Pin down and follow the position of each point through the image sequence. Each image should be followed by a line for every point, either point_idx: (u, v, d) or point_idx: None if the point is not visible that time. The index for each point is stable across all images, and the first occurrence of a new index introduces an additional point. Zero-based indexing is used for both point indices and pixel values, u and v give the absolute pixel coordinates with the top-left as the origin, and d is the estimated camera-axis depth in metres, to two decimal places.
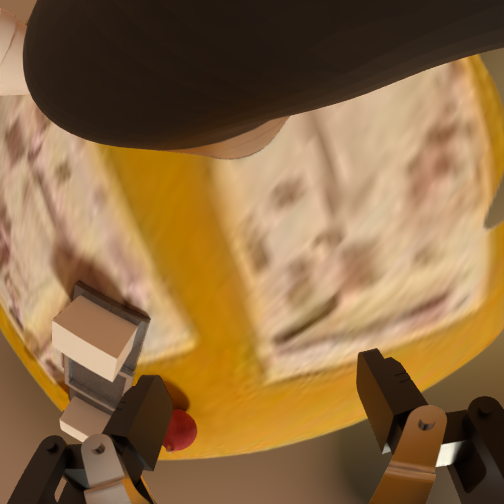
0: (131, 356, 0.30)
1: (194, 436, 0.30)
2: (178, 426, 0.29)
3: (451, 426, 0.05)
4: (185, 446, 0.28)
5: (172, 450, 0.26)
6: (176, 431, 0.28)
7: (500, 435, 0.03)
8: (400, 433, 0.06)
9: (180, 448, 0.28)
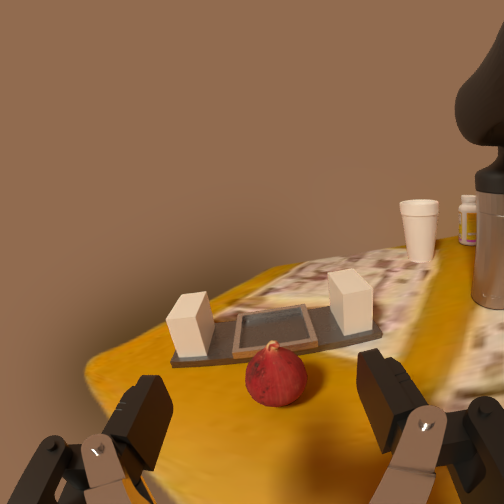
0: (336, 338, 0.33)
1: (290, 386, 0.22)
2: (303, 364, 0.24)
3: (451, 426, 0.05)
4: (278, 368, 0.22)
5: (278, 344, 0.23)
6: (298, 359, 0.24)
7: (500, 435, 0.03)
8: (400, 433, 0.06)
9: (274, 360, 0.22)
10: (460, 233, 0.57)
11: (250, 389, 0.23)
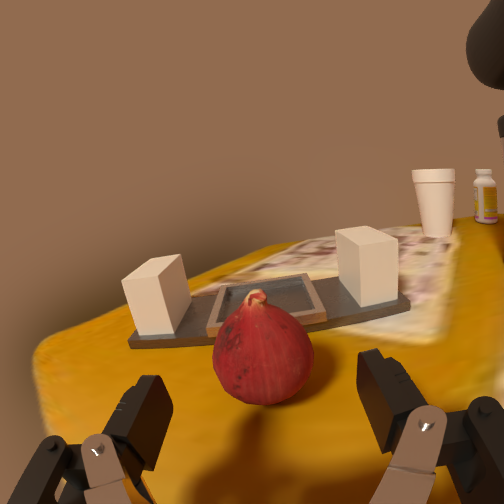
0: (350, 310, 0.24)
1: (285, 367, 0.13)
2: (306, 333, 0.15)
3: (451, 426, 0.05)
4: (264, 335, 0.13)
5: (264, 295, 0.14)
6: (299, 324, 0.15)
7: (500, 435, 0.03)
8: (400, 433, 0.06)
9: (258, 322, 0.14)
10: (476, 210, 0.48)
11: (218, 373, 0.14)
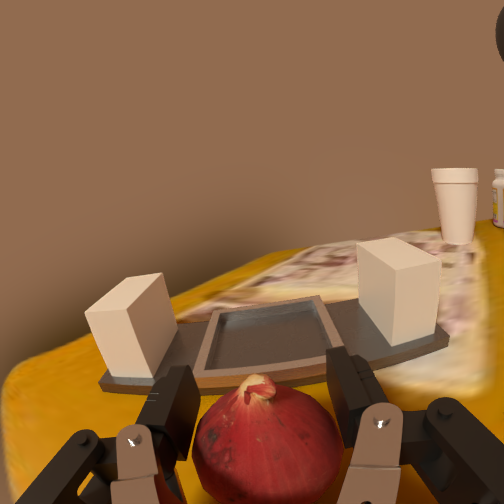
0: (378, 351, 0.17)
1: (303, 490, 0.06)
2: (335, 425, 0.08)
3: (410, 425, 0.06)
4: (271, 453, 0.06)
5: (272, 386, 0.07)
6: (326, 416, 0.08)
7: (466, 434, 0.04)
8: (357, 428, 0.06)
9: (261, 432, 0.07)
10: (495, 213, 0.41)
11: (201, 483, 0.07)
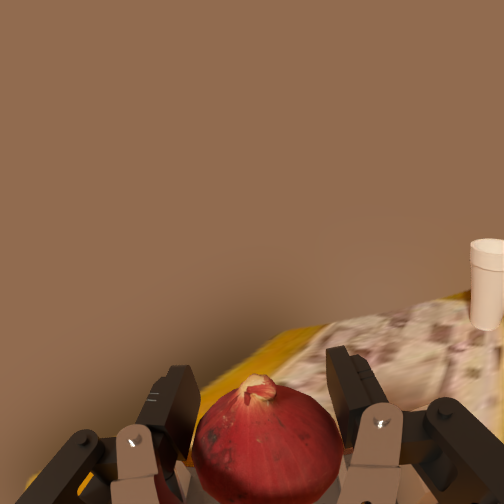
0: None
1: (303, 491, 0.06)
2: (335, 426, 0.08)
3: (410, 425, 0.06)
4: (271, 454, 0.06)
5: (273, 387, 0.07)
6: (326, 416, 0.08)
7: (466, 434, 0.04)
8: (357, 428, 0.06)
9: (261, 433, 0.07)
10: None
11: (201, 483, 0.07)
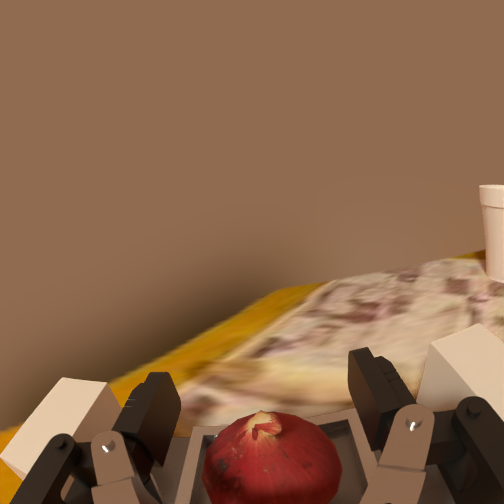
0: None
1: None
2: (335, 450, 0.08)
3: (439, 425, 0.05)
4: (277, 482, 0.06)
5: (279, 424, 0.07)
6: (327, 443, 0.08)
7: (491, 434, 0.03)
8: (388, 431, 0.06)
9: (268, 464, 0.07)
10: None
11: (211, 502, 0.07)
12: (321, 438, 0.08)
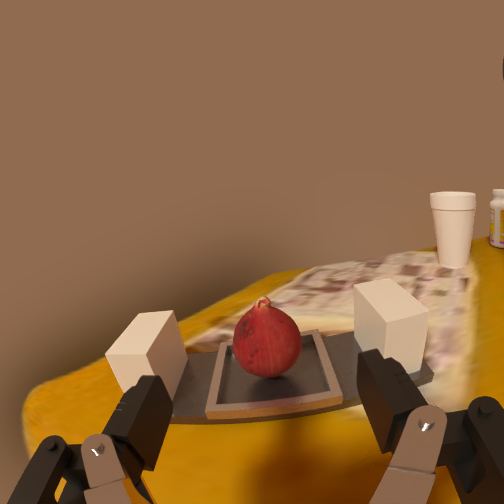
0: None
1: (282, 348, 0.20)
2: (297, 327, 0.22)
3: (451, 426, 0.05)
4: (268, 327, 0.20)
5: (268, 300, 0.21)
6: (292, 320, 0.22)
7: (500, 435, 0.03)
8: (400, 433, 0.06)
9: (264, 318, 0.21)
10: (492, 233, 0.43)
11: (237, 354, 0.21)
12: (289, 316, 0.22)
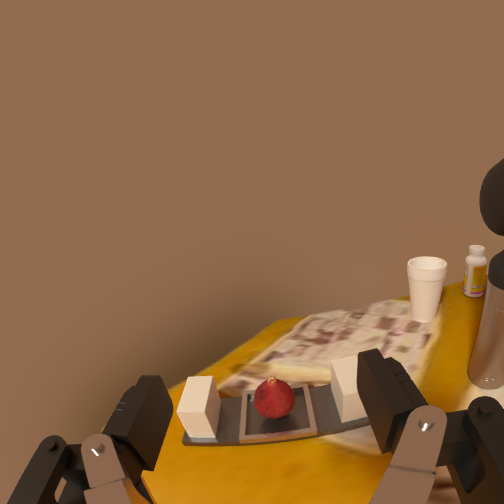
0: (334, 425, 0.31)
1: (283, 406, 0.32)
2: (292, 391, 0.34)
3: (451, 426, 0.05)
4: (275, 394, 0.32)
5: (275, 379, 0.34)
6: (289, 387, 0.34)
7: (500, 435, 0.03)
8: (400, 433, 0.06)
9: (273, 390, 0.33)
10: (465, 284, 0.55)
11: (257, 407, 0.33)
12: (287, 385, 0.34)
